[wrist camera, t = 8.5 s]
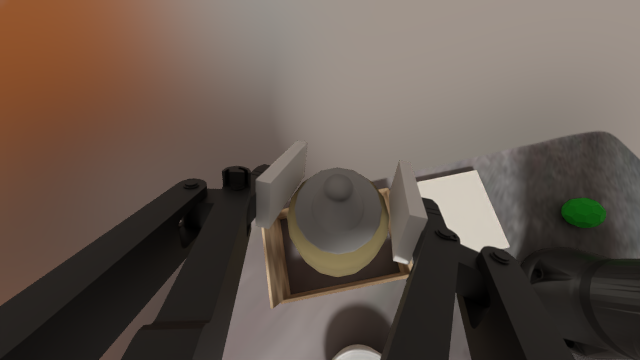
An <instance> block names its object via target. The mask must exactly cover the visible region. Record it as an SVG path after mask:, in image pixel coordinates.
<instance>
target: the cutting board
mask: <svg viewBox="0 0 640 360" xmlns="http://www.w3.org/2000/svg"><path fill="white" fill-rule="evenodd" d="M417 185H418V188H419V191H420V195H421V197H423V198H428V199H432V200H433V201H434V202H435V203H436V204H437V205H438V206H439V209H440V212H441V214H442V216H443V219H444V221H445V224H446V226H447V228H448V229H450V230H452V231H453V232H455V233H456V234H457V235H458V236H459V238H460V241H461V242H460V244H462V245H464V246H466V247H468V248H471V249H473V250H475V251H478V252H480V251H481V249H482V248H483V247H484V246H492V247H496V248H499V249H503V248H507V247H510V246H509V244H508V241H507V239H506V237H505V235H504V232H503V230H502V228H501V225H500V223H499V221H498V219H497V216H496V214H495V212H494V209H493V207H492V205H491V203H490V200H489V198H488V196H487V193H486V191H485V189H484V187H483V184H482V182H481V180H480V177H479V175H478V173H477V171H476V170H474V171H469V172H464V173H460V174H455V175H450V176H445V177H440V178H435V179H430V180H425V181H420V182H417Z"/></svg>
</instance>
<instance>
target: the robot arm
mask: <svg viewBox="0 0 640 360" xmlns="http://www.w3.org/2000/svg"><path fill="white" fill-rule="evenodd" d="M306 152H307V142H302V141H296V142H295V143H294V144H293V145H292V146H291V147H290V148H289V149H288V150H287V151H286V152H285V153H284V154H283V155H281V156H280V157H279V158H278V159H277V160H276V161H275V162H274V163H273V164H272V165H271V166H270V165H266V164H264V165H261V166H258V167H257V168H255V169H254V170H253V171H252V172H251V171H250V170H249V169H248V168H245V167H242V166H233V167H228V168H225V169H224V170H223V171H222V176H223V187H222V189H207V185H206V182H205V181H203V180H200V179H187V180H184V181H181V182H179V183H178V184H176V185H175V186H173V187H172V188H170V189H169V190H167V191H166V192H165V193H163V194H162V195H160V196H159V197H157V198H156V199H154V200H153V201H152V202H150V203H149V204H147V205H146V206H144V207H143V208H141V209H140V210H139V211H137V212H136V213H134V214H133V215H131V216H130V217H128V218H127V219H125V220H124V221H123V222H121V223H120V224H118V225H117V226H115V227H114V228H113V229H111V230H110V231H108V232H107V233H105V234H104V235H102V236H101V237H99V238H98V239H97V240H95V241H94V242H92V243H91V244H89V245H88V246H86V247H85V248H84V249H82V250H81V251H79V252H78V253H76V254H75V255H74V256H72V257H71V258H69V259H68V260H66V261H65V262H63V263H62V264H61V265H59V266H58V267H56V268H55V269H53V270H52V271H50V272H49V273H47V274H46V275H45V276H43V277H42V278H40V279H39V280H37V281H36V282H34V283H33V284H32V285H30V286H29V287H27V288H26V289H24V290H23V291H21V292H20V293H19V294H17V295H16V296H14V297H13V298H11V299H10V300H8V301H7V302H6V303H4V304H3V305H1V306H0V360H99V359H100V358H101V357H102V355H103V354H104V353H105V352H106V351H107V350H108V348H109V347H110V346H111V345H112V344H113V343H114V341H115V340H116V339H117V338H118V337H119V336H120V334H121V333H122V332H123V331H124V330H125V329H126V327H127V326H128V325H129V324H130V323H131V321H132V320H133V319H134V318H135V317H136V316H137V315H138V313H139V312H140V311H141V310H142V309H143V308H144V307H145V305H146V304H147V303H148V302H149V301H150V300H151V298H152V297H153V296H154V295H155V294H156V292H157V291H158V290H159V289H160V288H161V287H162V286H163V284H164V283H165V282H166V281H167V279H168V278H169V277H170V276H171V275H172V274H173V272H175V270H176V269H177V268H178V267H179V266H180V265H181V263H182V262H183V261H184V260H185V259H186V260H185V262H184V264H183V266H182V268H181V270H180V272H179V274H178V276H177V278H176V280H175V282H174V284H173V286H172V288H171V290H170V292H169V294H168V296H167V298H166V300H165V302H164V304H163V306H162V308H161V310H160V312H159V313H158V316H157V317H156V319H155V321H154V322H153V323H152V324H150V325H144V326H143V327H141V328H140V329H139V330H138V331H137V333H136V334H135V336H134V337H133V339H132V340H131V342H130V344H129V346H128V348H127V350H126V352H125V353H124V355H123V357H122V359H121V360H222V356H223V352H224V347H225V343H226V338H227V334H228V330H229V325H230V321H231V316H232V312H233V308H234V303H235V299H236V294H237V290H238V286H239V281H240V277H241V272H242V268H243V264H244V259H245V255H246V250H247V246H248V242H249V237H250V233H251V222H252V221H253V220H254V218H255V226H258V227H262V228H266V229H270V227H271V226H272V224H273V223H274V221H275V219H276V218H277V216H278V215H279V213H280V212H281V210H282V209H283V207H284V206H285V204H286V203H287V201H288V200H289V198H290V197H291V195H292V194H293V192H294V191H295V189H296V188H297V186H298V185H299V183H300V182H301V180H302V179H303V177H304V172H305V161H306ZM389 207H390V222H391V237H392V252H393V261H396V262H400V263H404V264H408V265H409V264H410V261H411V259H412V256H413V260H414V264H413V266H412V268H411V271H410V273H409V276H408V278H407V280H406V282H407V283H406V286H405V288H404V291H403V294H402V297H401V300H400V303H399V306H398V309H397V312H396V315H395V318H394V321H393V323H392V326H391V329H390V332H389V335H388V338H387V341H386V344H385V347H384V350H383V353H382V355H381V358H380V360H449V350H450V341H451V331H452V321H453V311H454V301H455V292H456V293H457V299H458V303H459V308H460V312H461V316H462V320H463V325H464V329H465V333H466V338H467V342H468V346H469V351H470V355H471V359H472V360H575V358H574V357H573V355H572V353H575V354H578V355H581V356H584V357H589V358H595V359H634V360H640V259H611V258H607V257H604V256H600V255H597V254H593V253H589V252H586V251H582V250H579V249H574V248H547V249H542V250H539V251H536V252H534V253H533V254H531V255H530V256H529V257H527V258H526V259H525V261H524V262H523V263H522V265H521V266H520V265H519V263H518V262H517V260H516V259H515V258H514V257H513V256H511V255H510V254H509V253H508V252H506V251H504V250H502V249H499V248H496V247H492V246H484V247H483V248H482V249H481V251H480V252H478V251H475V250H473V249H471V248H468V247H466V246H464V245H462V244H460V242H461V241H460V238H459V236H458V235H457V234H456V233H455V232H453V231H452V230H450V229H448V228H447V226H446V224H445V221H444V219H443V216H442V214H441V212H440V209H439V206H438V205H437V204H436V203H435V202H434V201H433V200H432V199H428V198H423V197H421V195H420V191H419V188H418V185H417V182H416V178H415V175H414V172H413V169H412V165H411V163H409V162H405V161H400V160H399V162H398V166H397V169H396V172H395V176H394V179H393V182H392V186H391V189H390V192H389ZM180 220H181V221H182V222H181V223H179V222H180ZM571 352H572V353H571Z"/></svg>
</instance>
